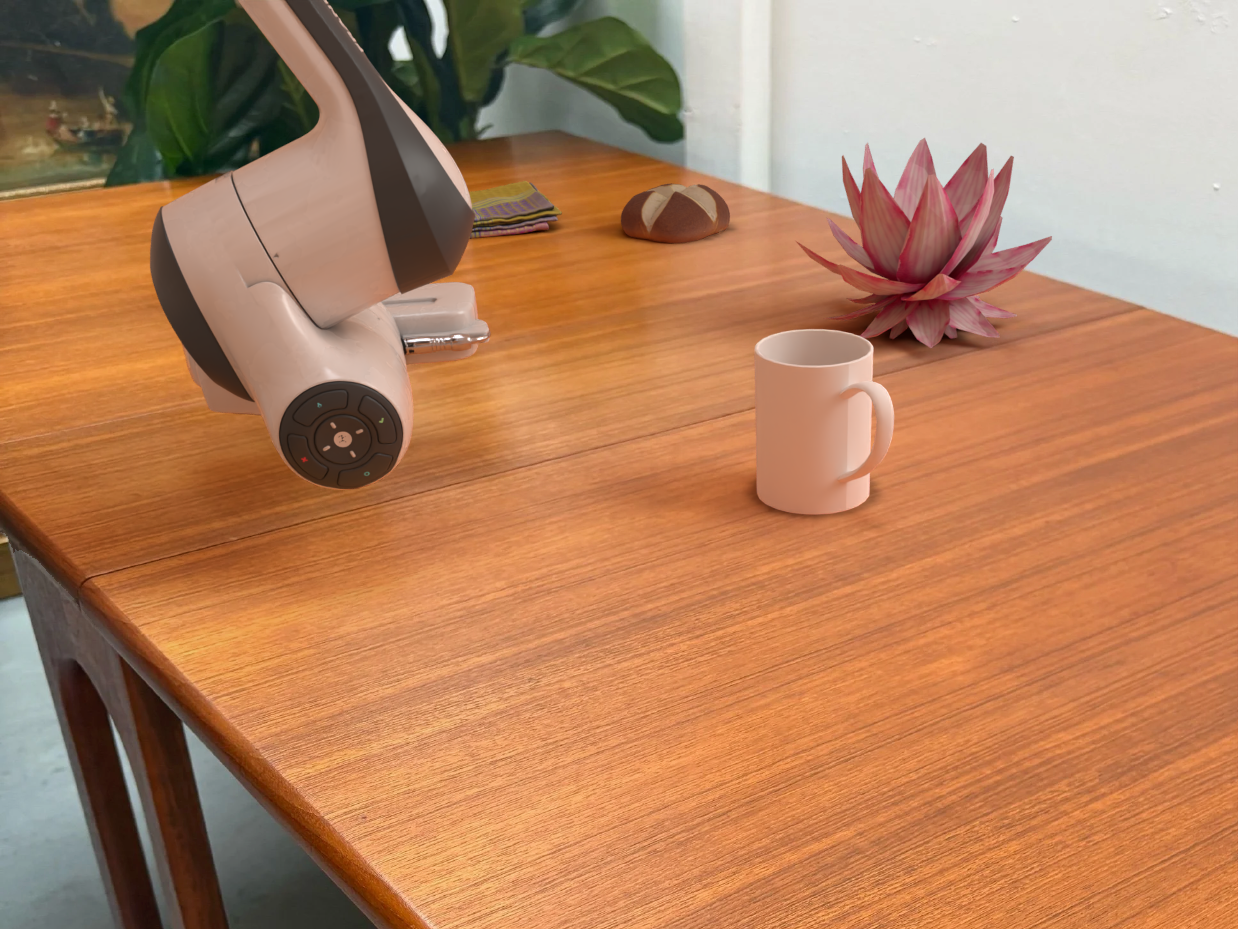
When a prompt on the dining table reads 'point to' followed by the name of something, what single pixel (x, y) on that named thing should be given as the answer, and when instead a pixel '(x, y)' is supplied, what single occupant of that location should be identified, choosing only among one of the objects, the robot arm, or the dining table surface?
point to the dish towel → (511, 210)
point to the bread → (675, 214)
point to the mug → (817, 420)
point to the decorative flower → (929, 247)
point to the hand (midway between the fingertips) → (329, 296)
